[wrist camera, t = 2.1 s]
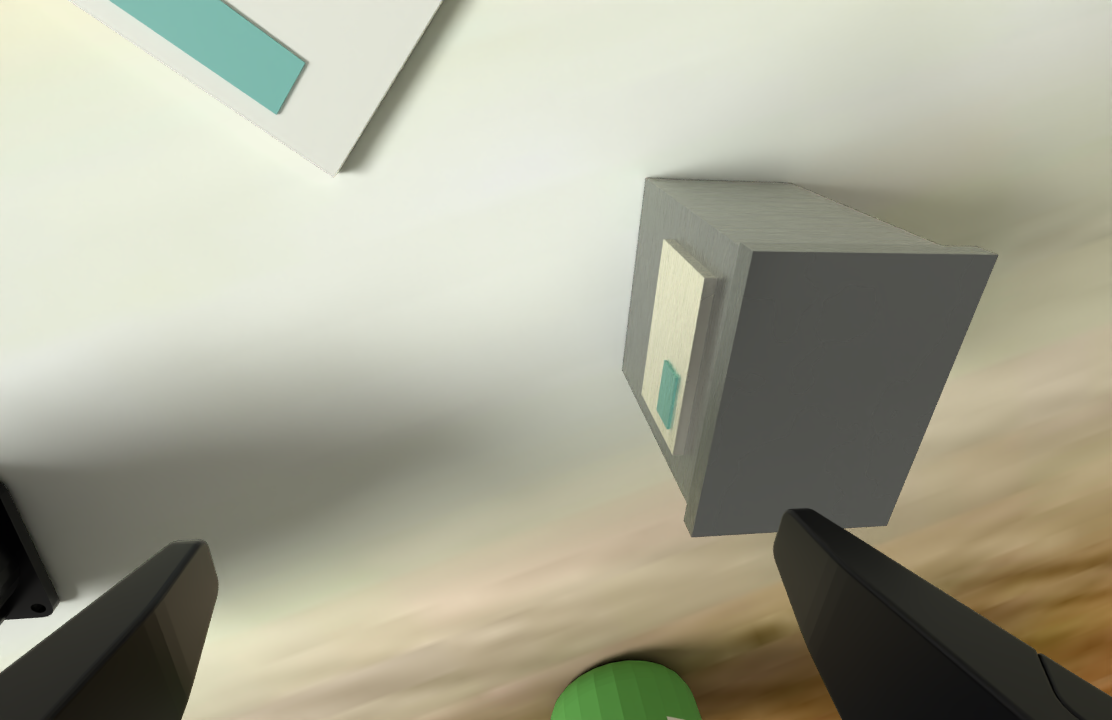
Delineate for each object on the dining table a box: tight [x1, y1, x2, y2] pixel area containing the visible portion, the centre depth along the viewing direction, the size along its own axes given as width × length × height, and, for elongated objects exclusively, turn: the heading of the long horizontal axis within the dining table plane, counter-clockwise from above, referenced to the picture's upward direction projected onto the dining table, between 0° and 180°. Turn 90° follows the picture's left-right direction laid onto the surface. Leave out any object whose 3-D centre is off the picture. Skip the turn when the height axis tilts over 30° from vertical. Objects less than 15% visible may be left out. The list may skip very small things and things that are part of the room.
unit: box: [622, 178, 998, 537], centre depth 17 cm, size 7×6×8 cm
